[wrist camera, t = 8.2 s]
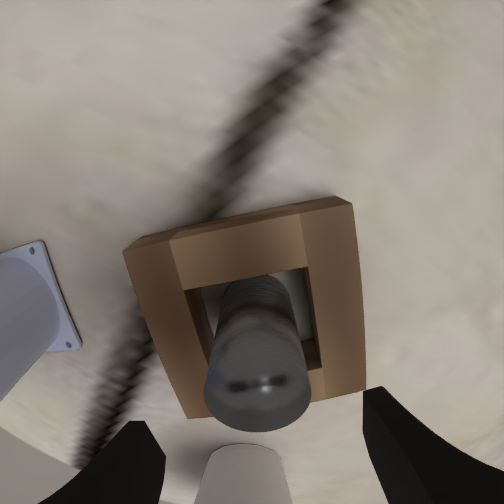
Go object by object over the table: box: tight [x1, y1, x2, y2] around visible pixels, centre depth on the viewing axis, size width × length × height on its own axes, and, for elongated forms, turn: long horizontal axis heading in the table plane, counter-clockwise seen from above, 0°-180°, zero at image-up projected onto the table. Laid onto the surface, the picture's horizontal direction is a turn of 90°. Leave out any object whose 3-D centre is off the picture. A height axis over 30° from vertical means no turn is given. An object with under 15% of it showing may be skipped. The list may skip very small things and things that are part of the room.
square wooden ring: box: [122, 196, 366, 419], centre depth 17 cm, size 11×11×3 cm
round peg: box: [203, 275, 312, 432], centre depth 15 cm, size 4×4×8 cm
